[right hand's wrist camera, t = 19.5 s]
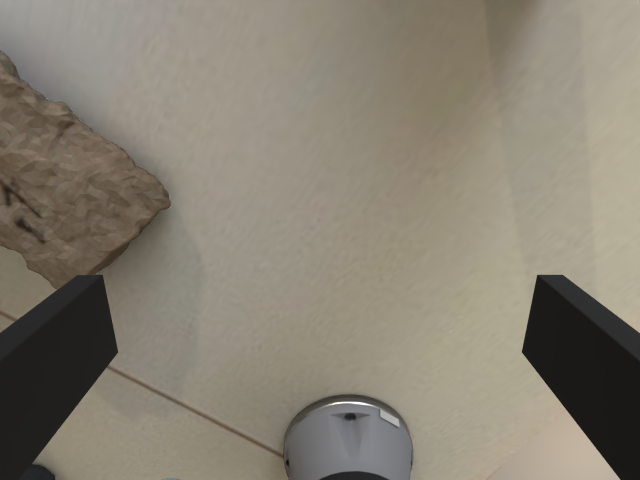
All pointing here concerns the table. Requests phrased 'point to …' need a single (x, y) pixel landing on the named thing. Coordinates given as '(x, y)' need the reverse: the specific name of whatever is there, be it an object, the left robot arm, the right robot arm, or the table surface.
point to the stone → (65, 186)
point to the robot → (37, 474)
